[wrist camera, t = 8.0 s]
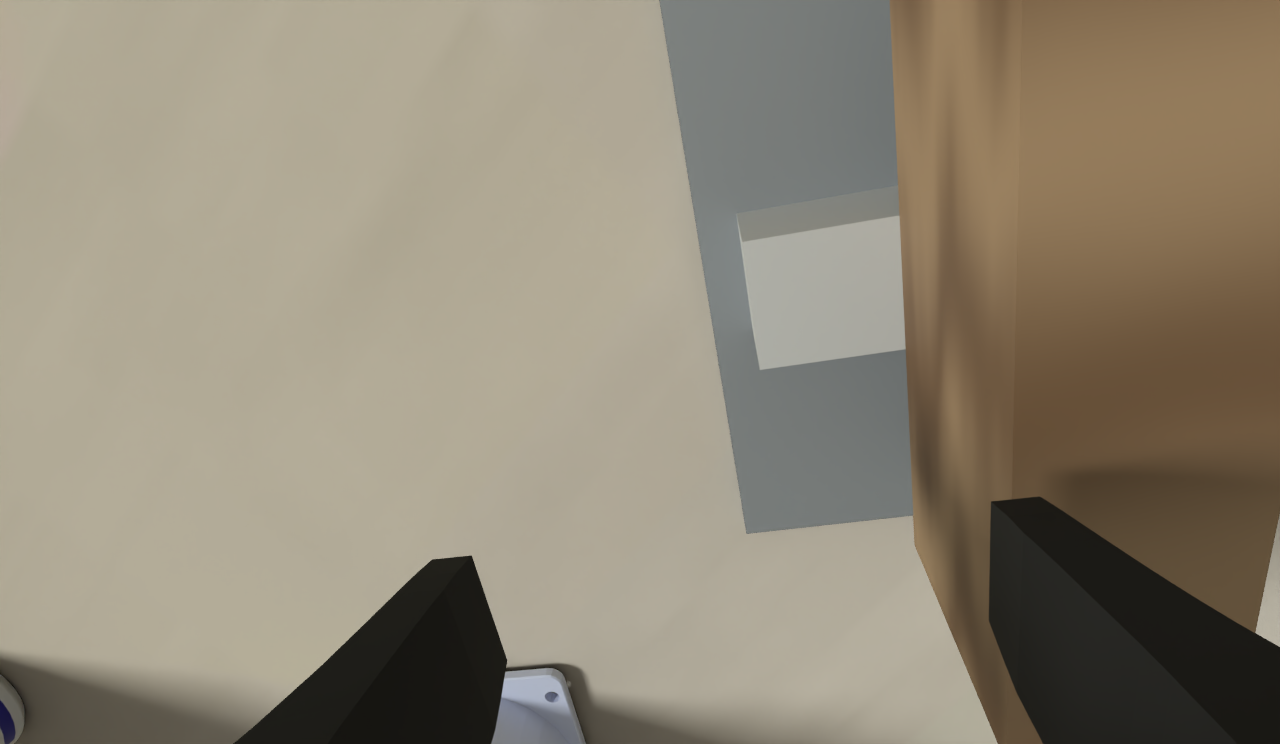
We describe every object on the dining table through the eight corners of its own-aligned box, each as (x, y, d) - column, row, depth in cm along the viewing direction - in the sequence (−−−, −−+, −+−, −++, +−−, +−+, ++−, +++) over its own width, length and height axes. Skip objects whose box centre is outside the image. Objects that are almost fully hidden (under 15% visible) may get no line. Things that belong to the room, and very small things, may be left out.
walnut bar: (1067, 529, 18) (1231, 749, 12) (914, 545, 18) (1005, 762, 13) (1109, -156, 12) (1448, -310, 7) (884, -105, 12) (1026, -208, 7)
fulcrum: (1173, 473, 20) (1251, 546, 17) (745, 521, 22) (752, 595, 19) (1262, -228, 14) (1410, -296, 11) (647, -81, 16) (636, -107, 13)
